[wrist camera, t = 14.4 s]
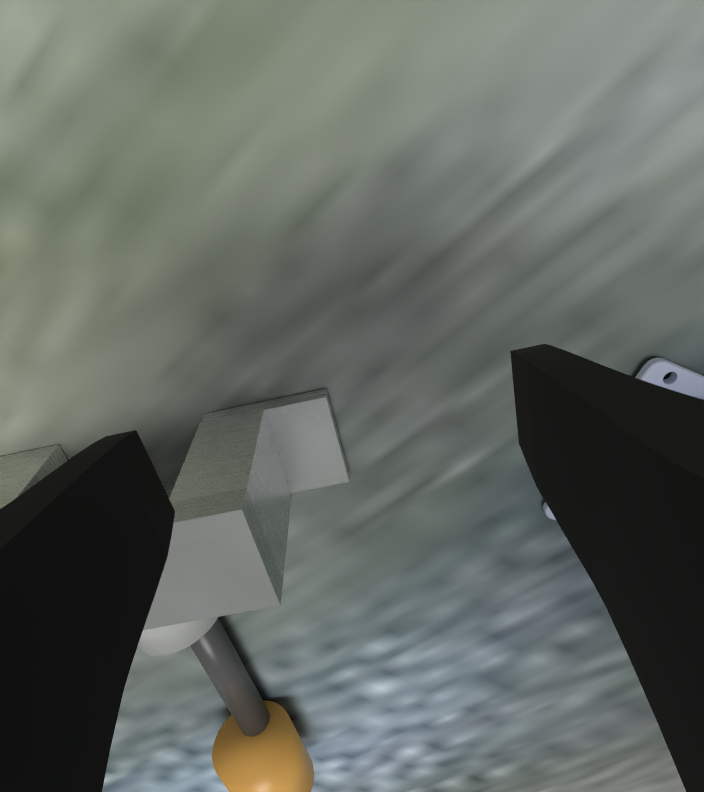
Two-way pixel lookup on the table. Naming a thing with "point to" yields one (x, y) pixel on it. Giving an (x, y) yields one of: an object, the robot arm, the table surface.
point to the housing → (227, 502)
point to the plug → (240, 714)
